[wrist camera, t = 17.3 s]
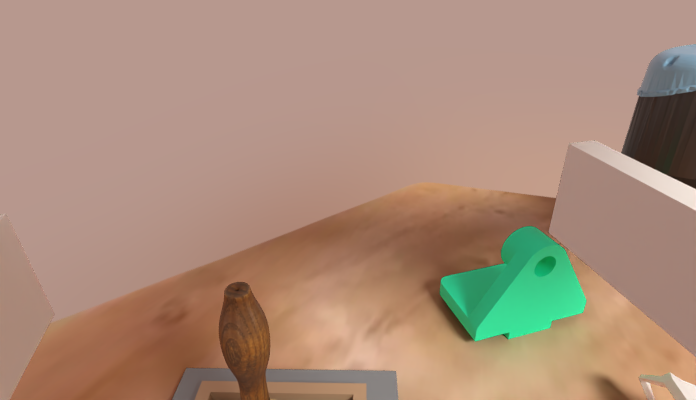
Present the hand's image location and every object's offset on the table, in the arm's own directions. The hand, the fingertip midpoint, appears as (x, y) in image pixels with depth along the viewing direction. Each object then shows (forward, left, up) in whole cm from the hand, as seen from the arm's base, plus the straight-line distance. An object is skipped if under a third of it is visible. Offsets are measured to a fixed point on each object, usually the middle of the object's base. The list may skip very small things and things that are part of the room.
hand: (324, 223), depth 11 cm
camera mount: (-15, -26, -26) cm, 39 cm away
